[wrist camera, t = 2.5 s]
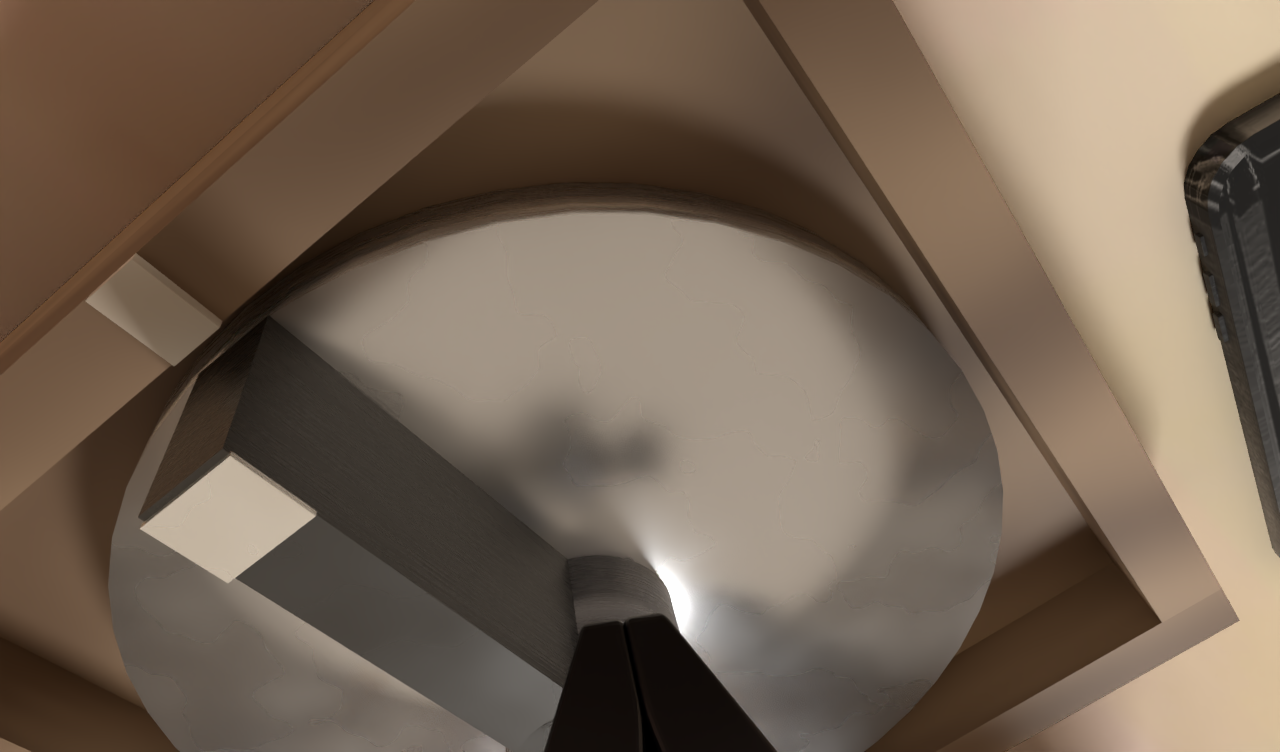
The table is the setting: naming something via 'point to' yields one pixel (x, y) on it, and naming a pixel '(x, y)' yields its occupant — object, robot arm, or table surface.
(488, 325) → the dial
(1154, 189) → the table surface
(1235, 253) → the phone
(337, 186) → the square wooden tray
